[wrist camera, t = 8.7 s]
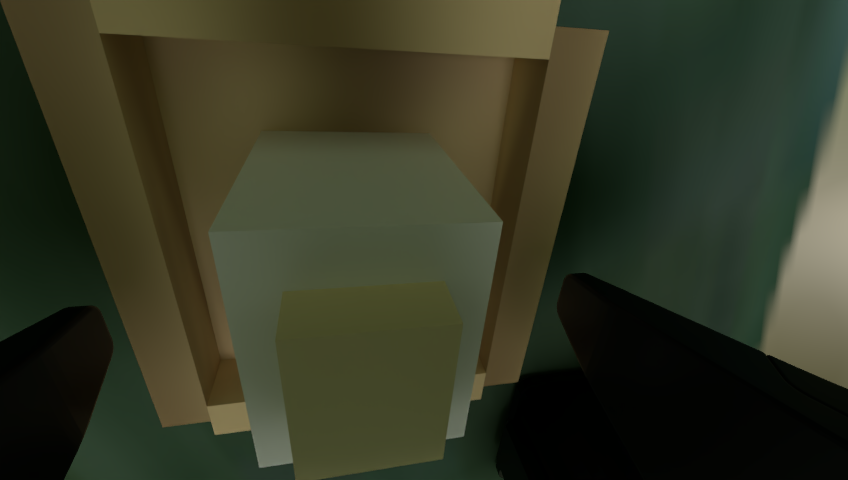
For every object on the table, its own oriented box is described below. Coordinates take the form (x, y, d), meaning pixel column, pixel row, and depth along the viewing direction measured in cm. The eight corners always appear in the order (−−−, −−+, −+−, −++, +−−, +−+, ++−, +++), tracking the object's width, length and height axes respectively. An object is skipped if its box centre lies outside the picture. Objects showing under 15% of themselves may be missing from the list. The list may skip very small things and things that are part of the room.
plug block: (429, 133, 10) (532, 257, 5) (417, 292, 13) (479, 484, 8) (261, 130, 9) (185, 276, 4) (283, 302, 12) (250, 526, 7)
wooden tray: (556, -2, 10) (618, -4, 8) (488, 342, 16) (514, 394, 13) (69, -48, 8) (-27, -69, 6) (193, 372, 13) (168, 441, 11)
